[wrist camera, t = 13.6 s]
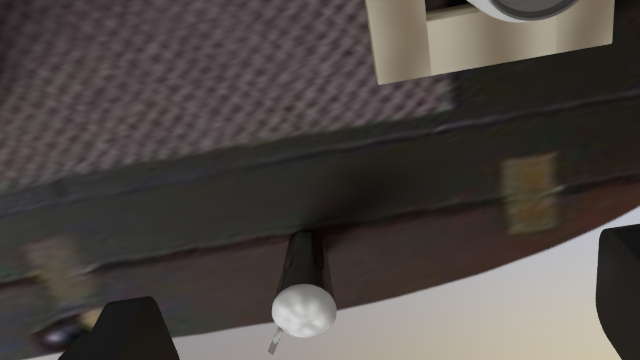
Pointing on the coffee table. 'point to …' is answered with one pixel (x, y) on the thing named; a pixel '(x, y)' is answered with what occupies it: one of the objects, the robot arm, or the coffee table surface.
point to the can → (523, 9)
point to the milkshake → (304, 289)
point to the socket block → (473, 36)
